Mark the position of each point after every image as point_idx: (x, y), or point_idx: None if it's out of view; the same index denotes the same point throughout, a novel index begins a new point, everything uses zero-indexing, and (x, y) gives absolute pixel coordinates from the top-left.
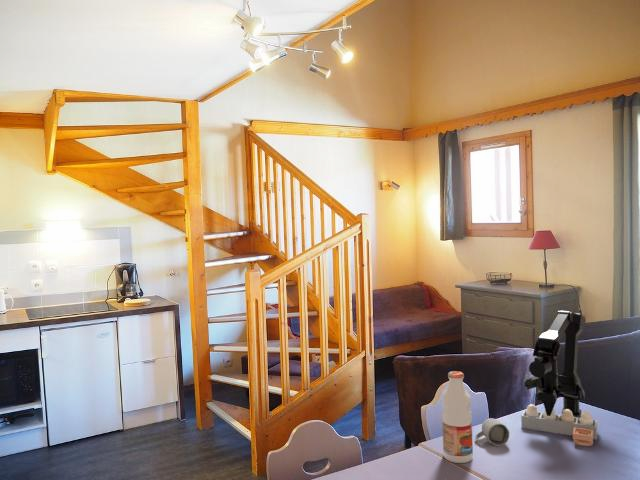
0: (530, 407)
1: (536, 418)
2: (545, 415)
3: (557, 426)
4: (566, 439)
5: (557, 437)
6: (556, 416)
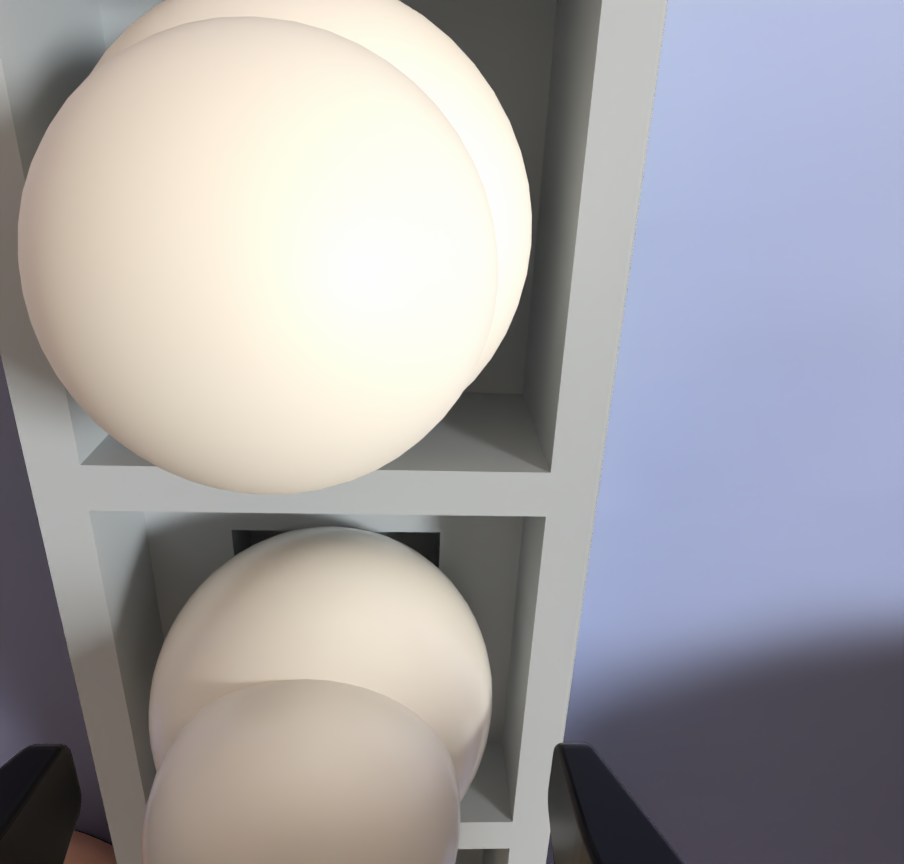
0: (22, 240)
1: (25, 392)
2: (175, 657)
3: None
4: (18, 749)
5: (12, 645)
6: (514, 757)
